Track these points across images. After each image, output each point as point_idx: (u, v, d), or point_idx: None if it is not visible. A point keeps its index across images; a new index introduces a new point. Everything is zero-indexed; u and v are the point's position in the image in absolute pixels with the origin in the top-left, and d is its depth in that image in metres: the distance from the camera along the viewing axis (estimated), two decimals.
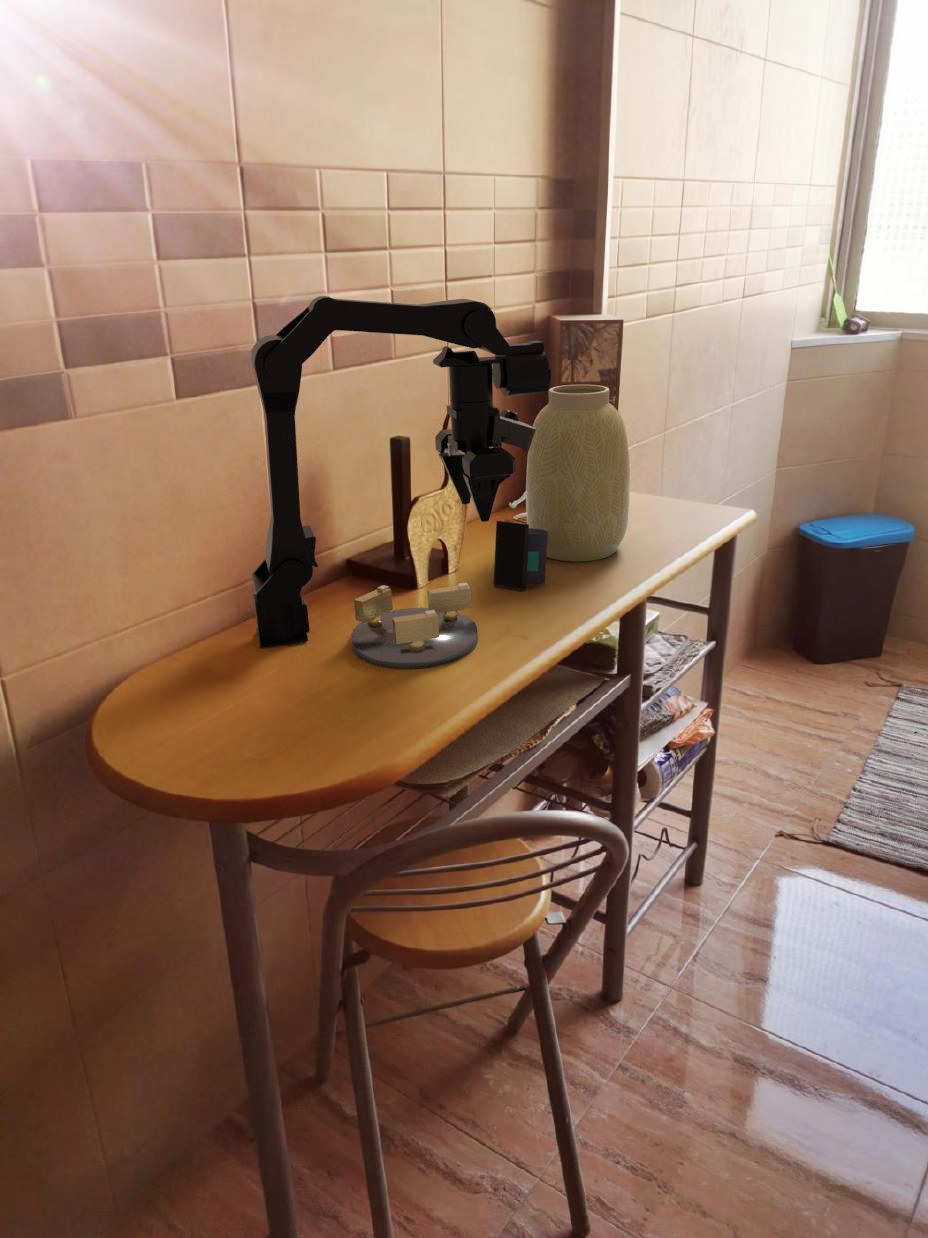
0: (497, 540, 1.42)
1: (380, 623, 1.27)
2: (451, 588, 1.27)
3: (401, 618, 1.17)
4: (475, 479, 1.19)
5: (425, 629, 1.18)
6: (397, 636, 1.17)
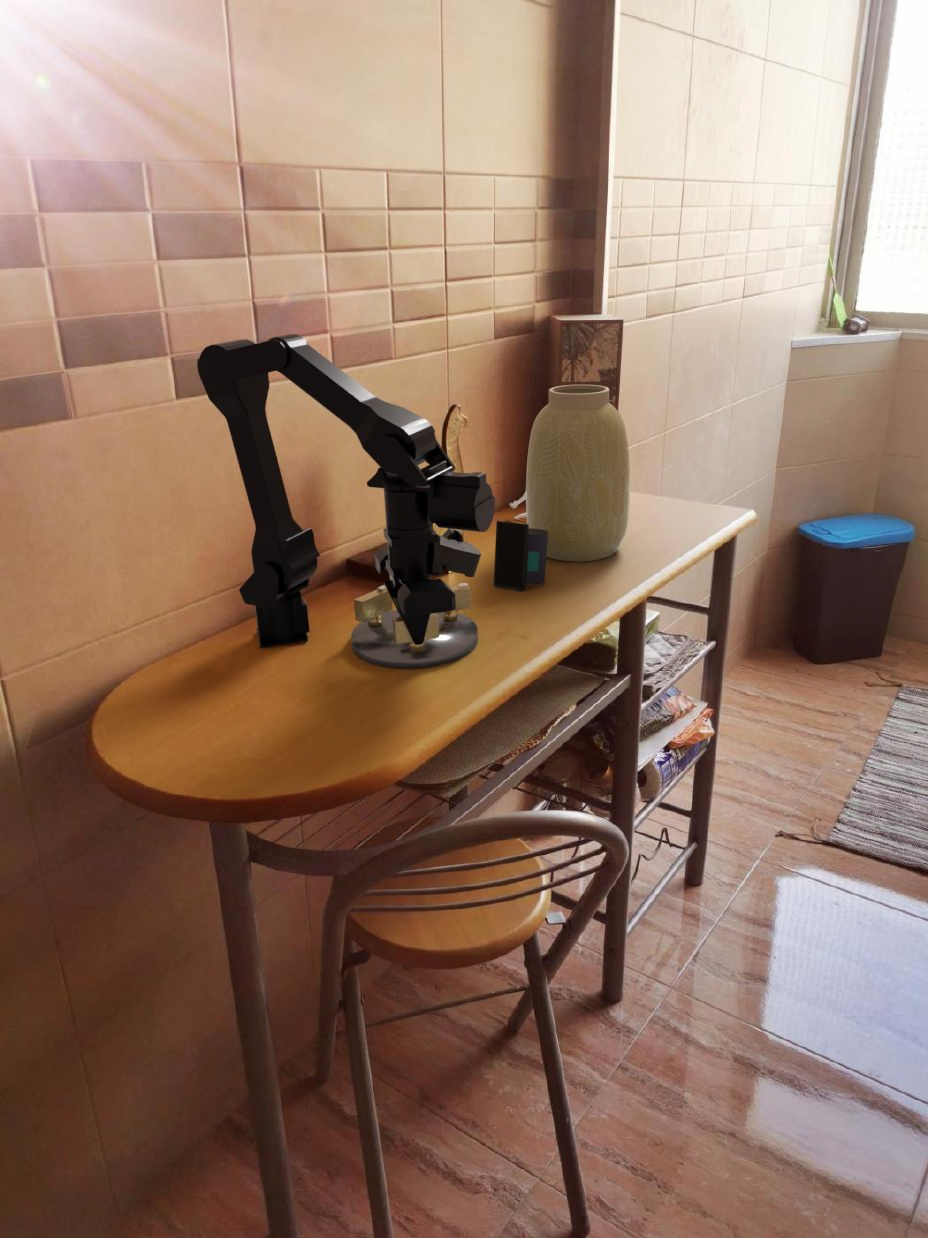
0: (497, 540, 1.42)
1: (380, 623, 1.27)
2: (451, 588, 1.27)
3: (401, 618, 1.17)
4: None
5: None
6: (397, 636, 1.17)
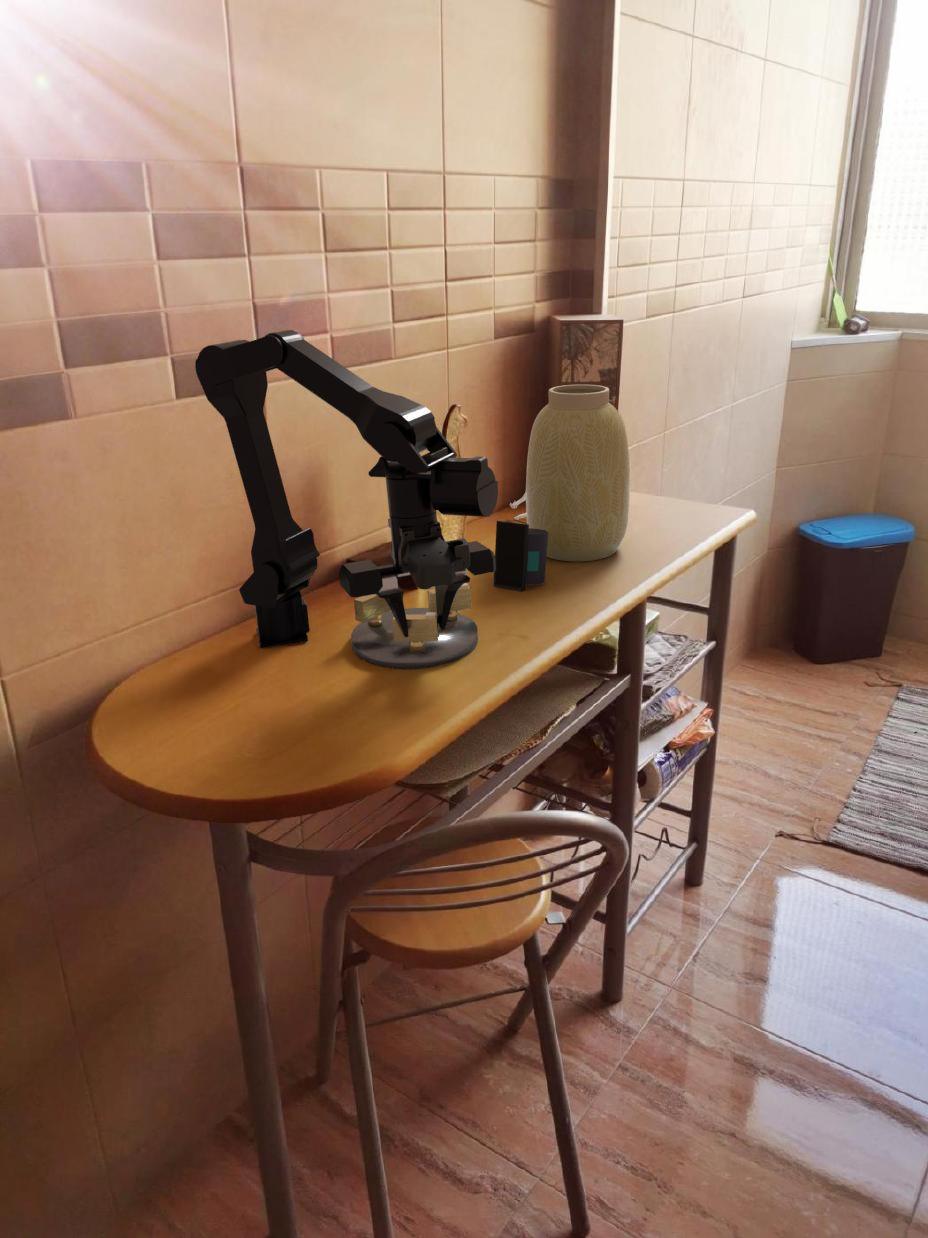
0: (497, 540, 1.42)
1: (380, 623, 1.27)
2: None
3: None
4: None
5: (423, 630, 1.17)
6: (395, 633, 1.18)
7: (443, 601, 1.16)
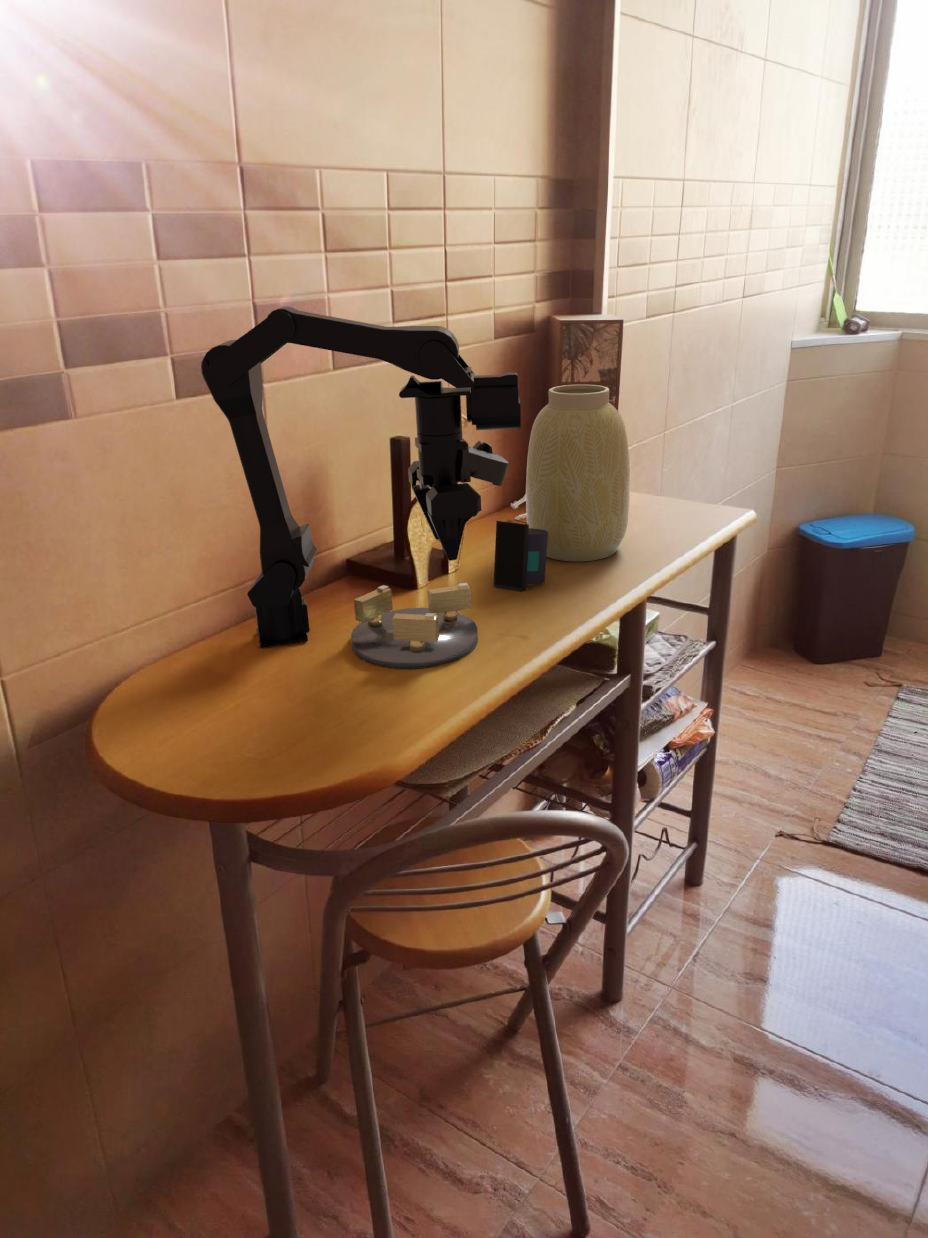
0: (497, 540, 1.42)
1: (380, 623, 1.27)
2: (451, 588, 1.27)
3: (402, 615, 1.18)
4: (438, 518, 1.13)
5: (422, 631, 1.17)
6: (394, 632, 1.18)
7: None
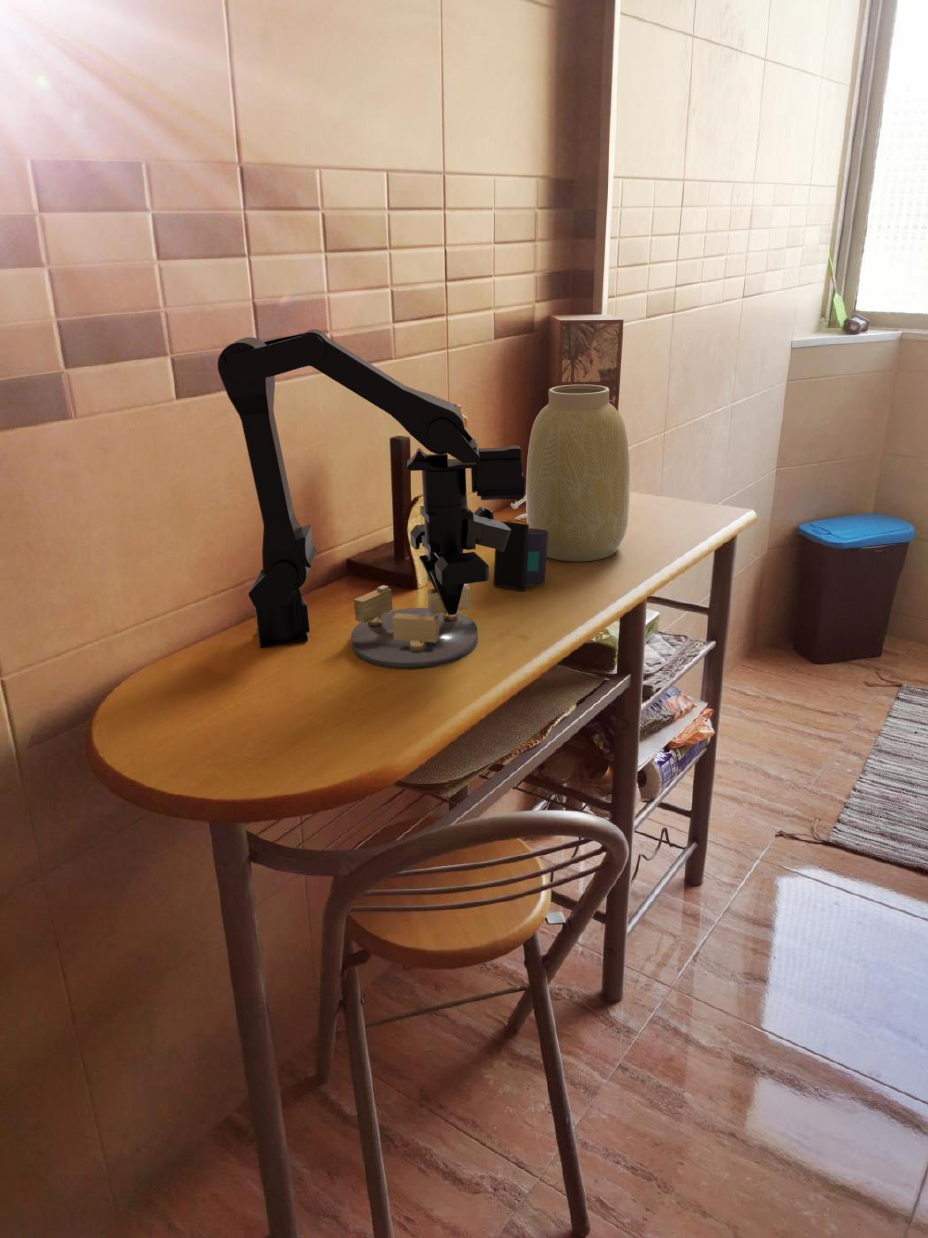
0: None
1: (380, 623, 1.27)
2: None
3: (402, 615, 1.18)
4: None
5: (422, 631, 1.17)
6: (394, 632, 1.18)
7: None
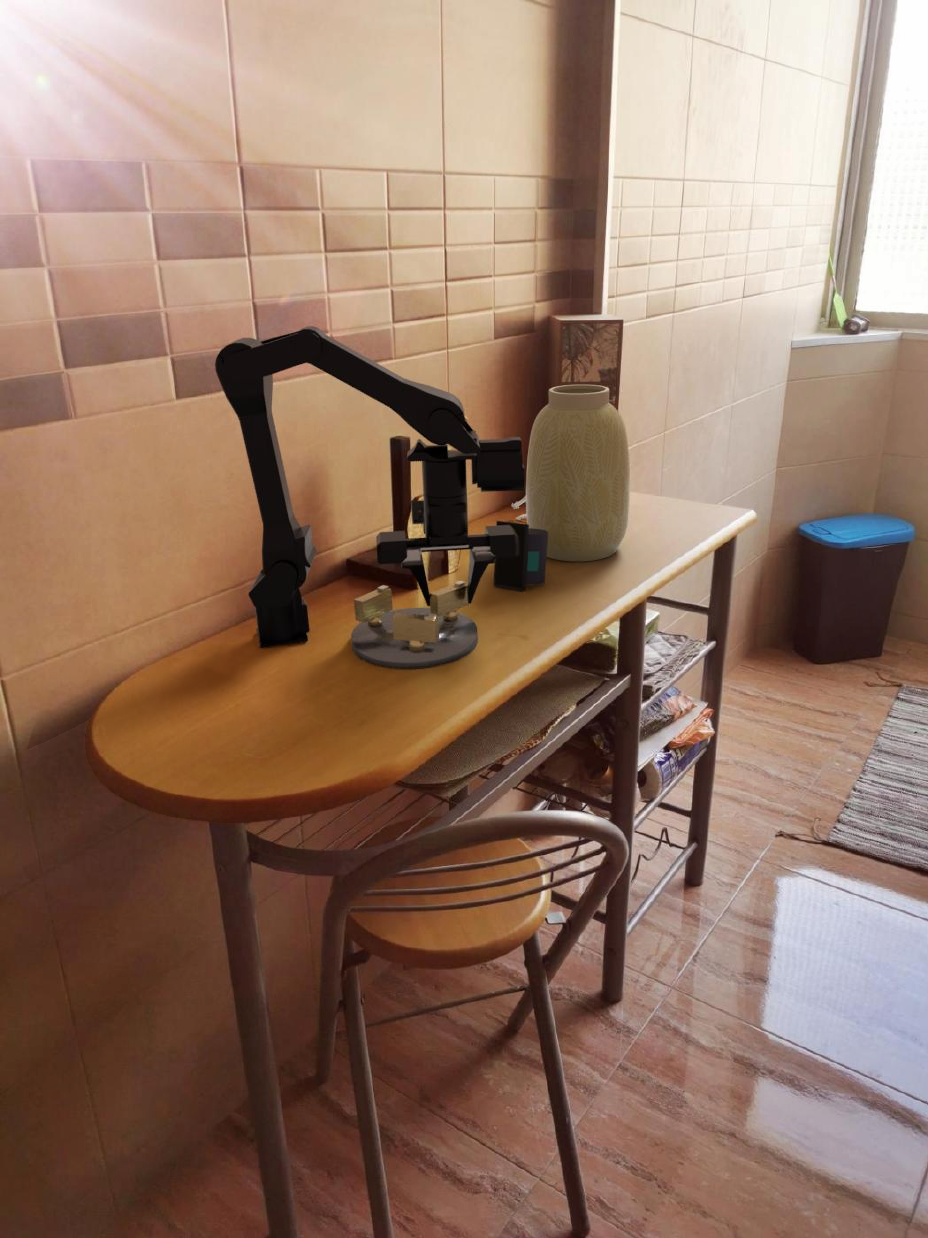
0: None
1: (380, 623, 1.27)
2: (450, 588, 1.27)
3: (402, 615, 1.18)
4: (495, 559, 1.23)
5: (422, 631, 1.17)
6: (394, 632, 1.18)
7: None
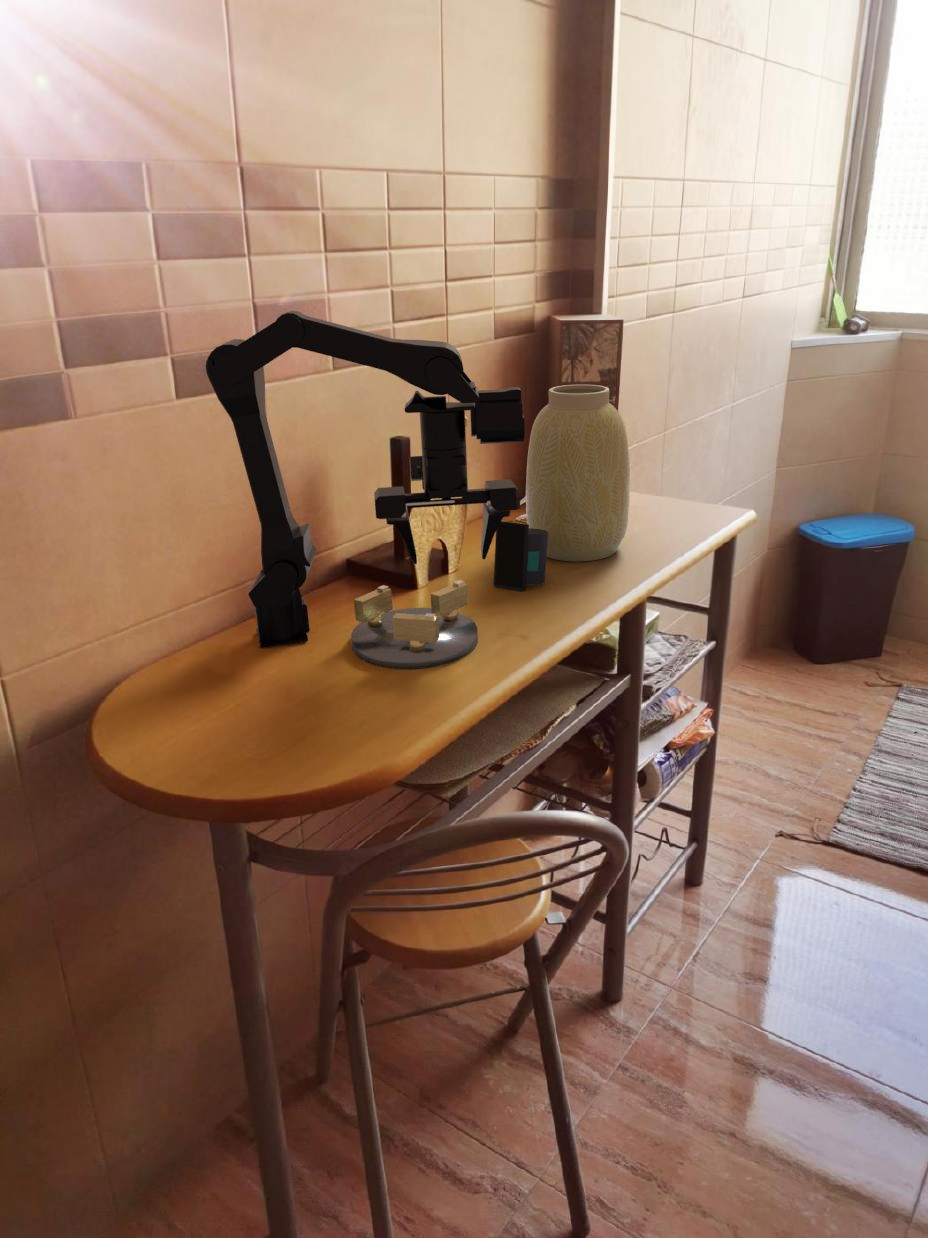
0: (497, 540, 1.42)
1: (380, 623, 1.27)
2: (450, 588, 1.27)
3: (402, 615, 1.18)
4: None
5: (422, 631, 1.17)
6: (394, 632, 1.18)
7: None
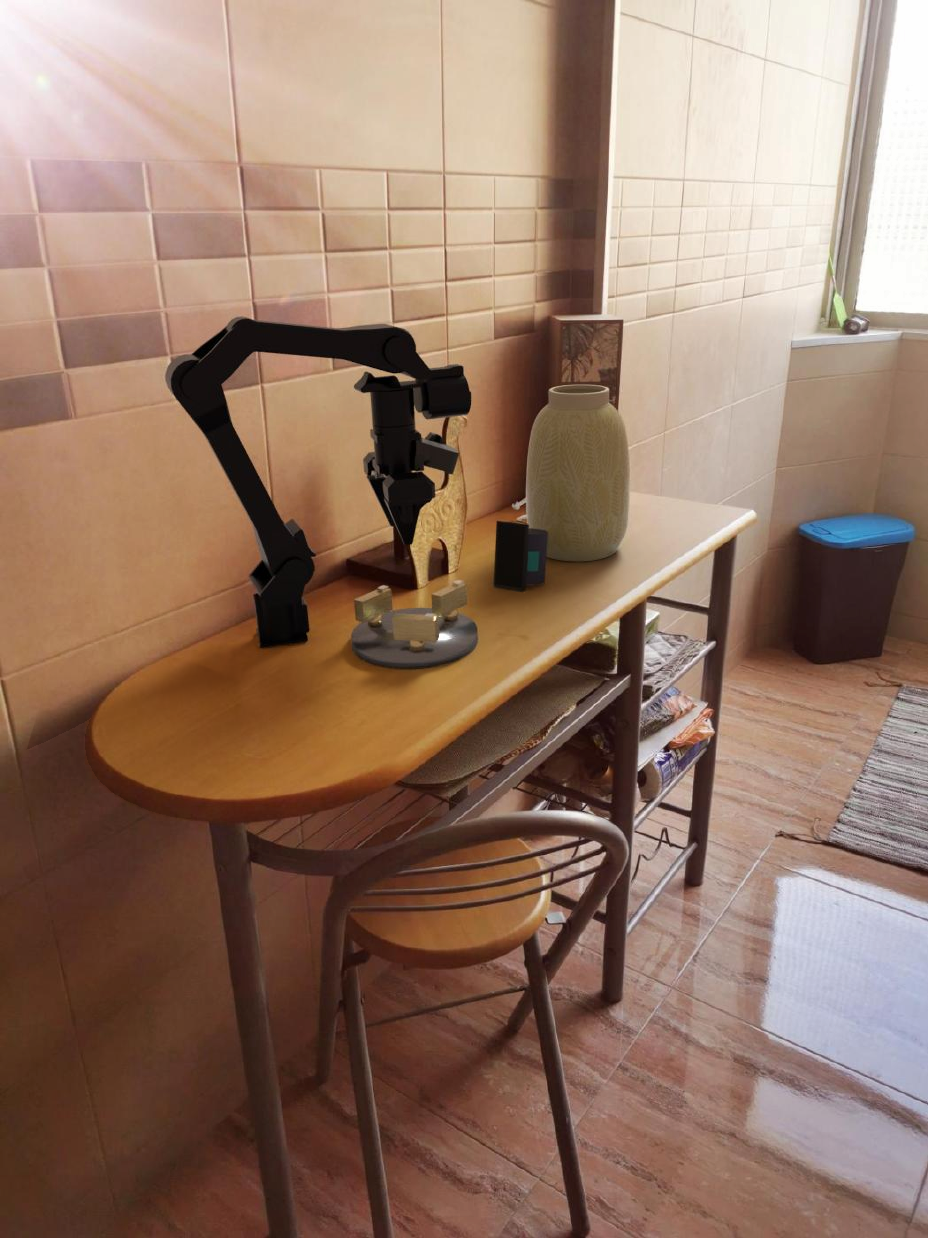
0: (497, 540, 1.42)
1: (380, 623, 1.27)
2: (450, 588, 1.27)
3: (402, 615, 1.18)
4: (395, 504, 1.20)
5: (422, 631, 1.17)
6: (394, 632, 1.18)
7: None
